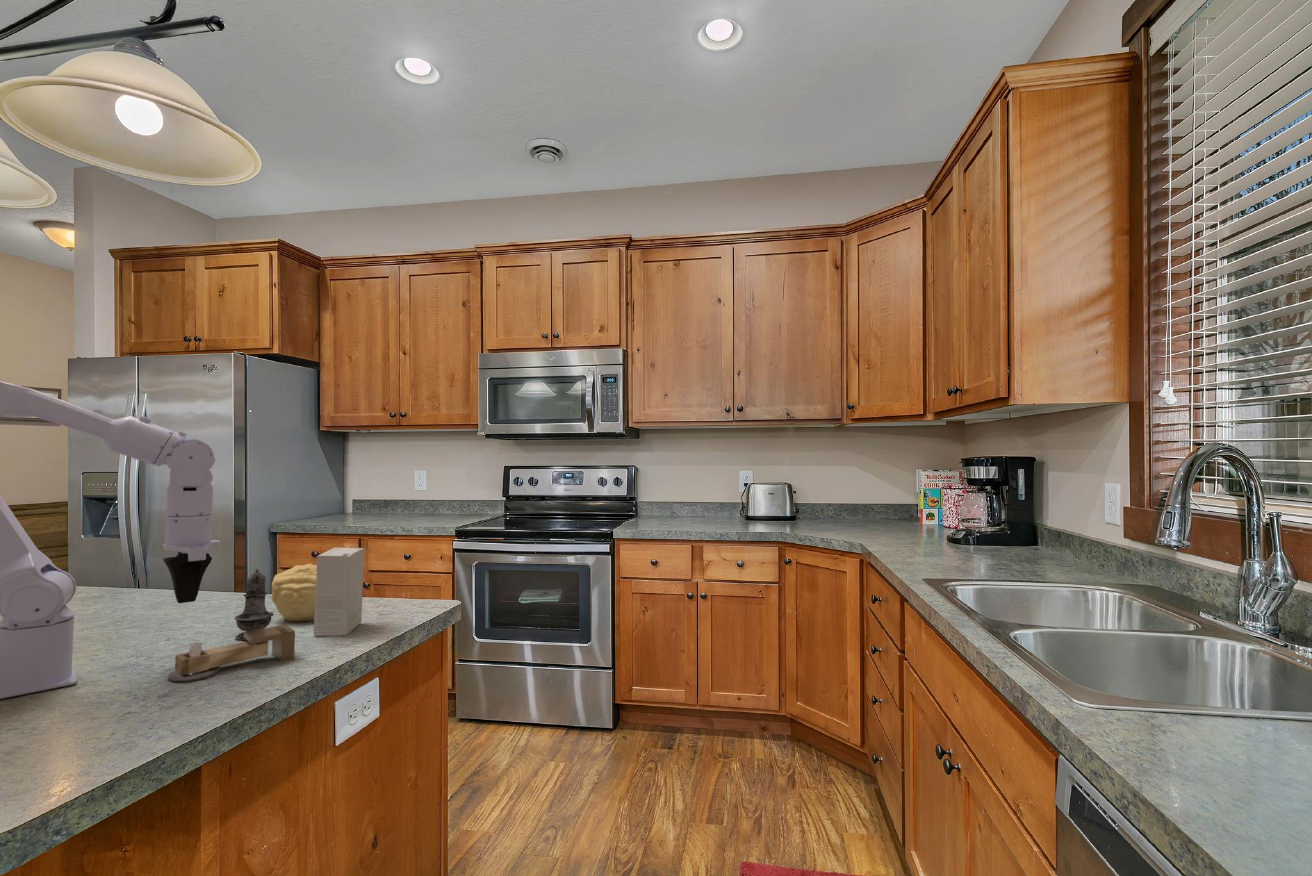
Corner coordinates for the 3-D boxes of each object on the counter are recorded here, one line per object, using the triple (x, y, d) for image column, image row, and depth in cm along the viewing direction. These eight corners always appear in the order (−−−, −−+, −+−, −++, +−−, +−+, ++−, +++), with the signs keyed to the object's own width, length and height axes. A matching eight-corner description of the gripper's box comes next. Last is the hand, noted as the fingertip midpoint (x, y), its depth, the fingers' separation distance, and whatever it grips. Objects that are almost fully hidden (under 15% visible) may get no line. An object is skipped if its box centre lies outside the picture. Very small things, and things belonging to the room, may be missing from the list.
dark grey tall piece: (275, 630, 109) (279, 565, 110) (269, 638, 104) (273, 570, 105) (237, 633, 107) (241, 566, 108) (229, 641, 102) (233, 571, 102)
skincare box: (330, 624, 113) (332, 547, 114) (363, 623, 114) (365, 546, 115) (312, 637, 105) (314, 554, 105) (348, 636, 106) (350, 553, 106)
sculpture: (261, 626, 111) (263, 569, 112) (290, 610, 123) (292, 559, 124) (326, 624, 113) (328, 568, 114) (348, 609, 125) (350, 558, 125)
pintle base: (172, 686, 82) (173, 653, 82) (164, 675, 86) (166, 644, 86) (224, 674, 87) (225, 644, 87) (214, 664, 91) (215, 635, 91)
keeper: (251, 667, 90) (252, 638, 90) (242, 660, 93) (243, 632, 93) (294, 658, 94) (294, 630, 94) (284, 651, 97) (285, 624, 97)
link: (182, 675, 84) (183, 660, 84) (174, 669, 86) (175, 654, 86) (268, 655, 92) (269, 641, 93) (260, 650, 95) (260, 637, 95)
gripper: (231, 516, 91) (228, 605, 90) (210, 510, 101) (207, 590, 100) (172, 519, 86) (169, 613, 85) (156, 513, 95) (153, 597, 95)
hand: (186, 601), depth 92 cm, fingers closed
